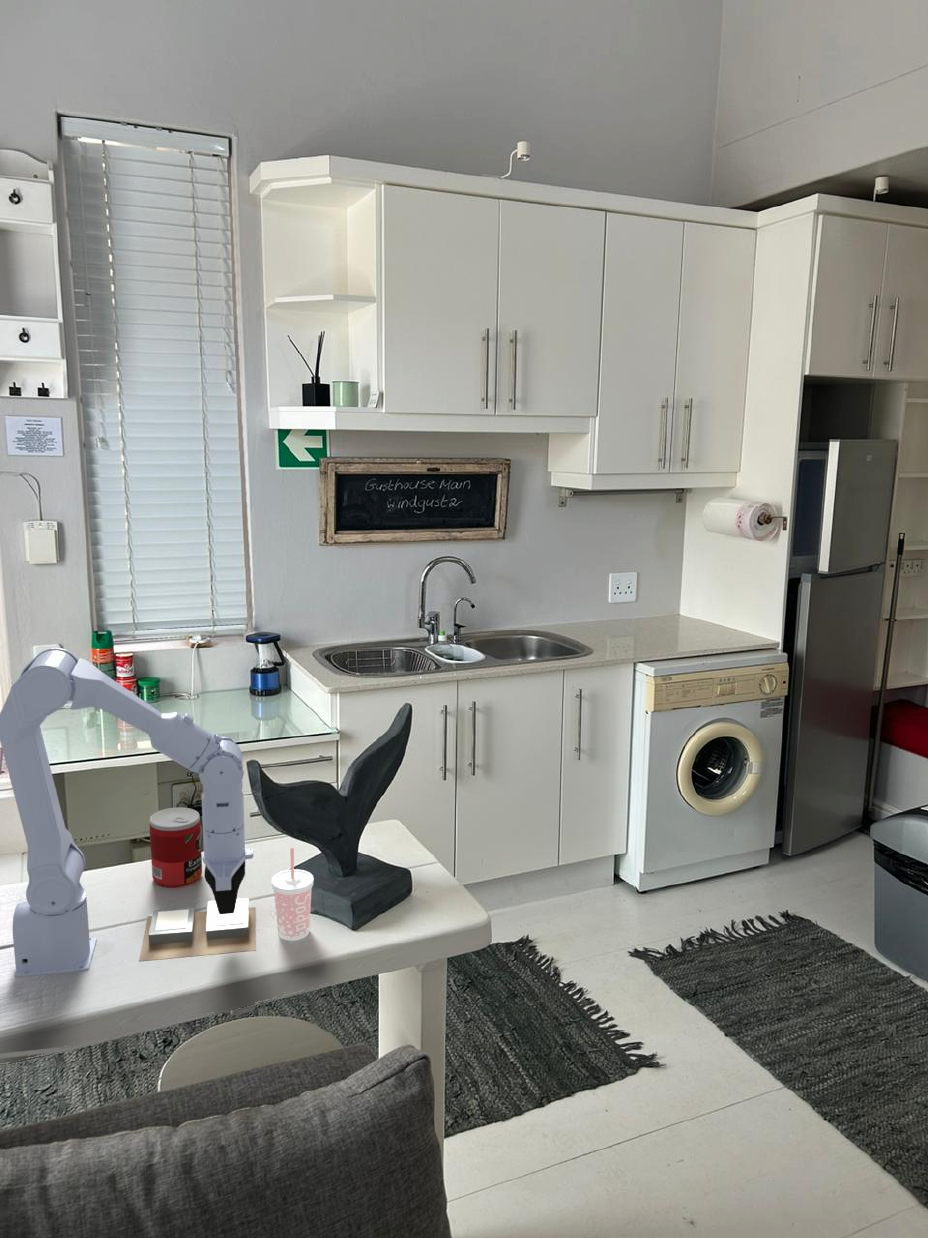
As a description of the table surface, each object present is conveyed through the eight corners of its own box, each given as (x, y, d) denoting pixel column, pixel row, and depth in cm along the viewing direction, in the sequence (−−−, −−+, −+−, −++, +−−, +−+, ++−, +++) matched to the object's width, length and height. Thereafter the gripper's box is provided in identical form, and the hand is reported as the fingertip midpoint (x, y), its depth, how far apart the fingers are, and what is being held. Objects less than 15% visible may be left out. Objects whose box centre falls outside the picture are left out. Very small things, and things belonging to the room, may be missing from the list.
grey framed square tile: (148, 934, 139) (153, 909, 145) (149, 945, 139) (153, 919, 146) (191, 931, 140) (194, 906, 147) (192, 941, 140) (195, 916, 147)
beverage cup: (278, 949, 140) (276, 860, 136) (268, 928, 145) (266, 842, 142) (319, 940, 142) (318, 853, 139) (308, 920, 147) (307, 835, 144)
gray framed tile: (206, 930, 140) (207, 901, 146) (206, 940, 141) (208, 910, 147) (248, 927, 141) (248, 897, 148) (248, 936, 142) (248, 906, 148)
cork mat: (138, 963, 135) (138, 961, 135) (147, 918, 147) (147, 916, 147) (255, 952, 139) (255, 950, 138) (255, 909, 150) (255, 907, 150)
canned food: (195, 891, 155) (192, 828, 152) (145, 889, 155) (141, 826, 153) (208, 868, 162) (205, 807, 160) (161, 866, 163) (157, 806, 160)
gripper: (252, 846, 131) (254, 936, 134) (252, 802, 145) (254, 884, 148) (198, 849, 129) (202, 940, 132) (203, 805, 143) (207, 888, 146)
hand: (226, 911), depth 140 cm, fingers closed
